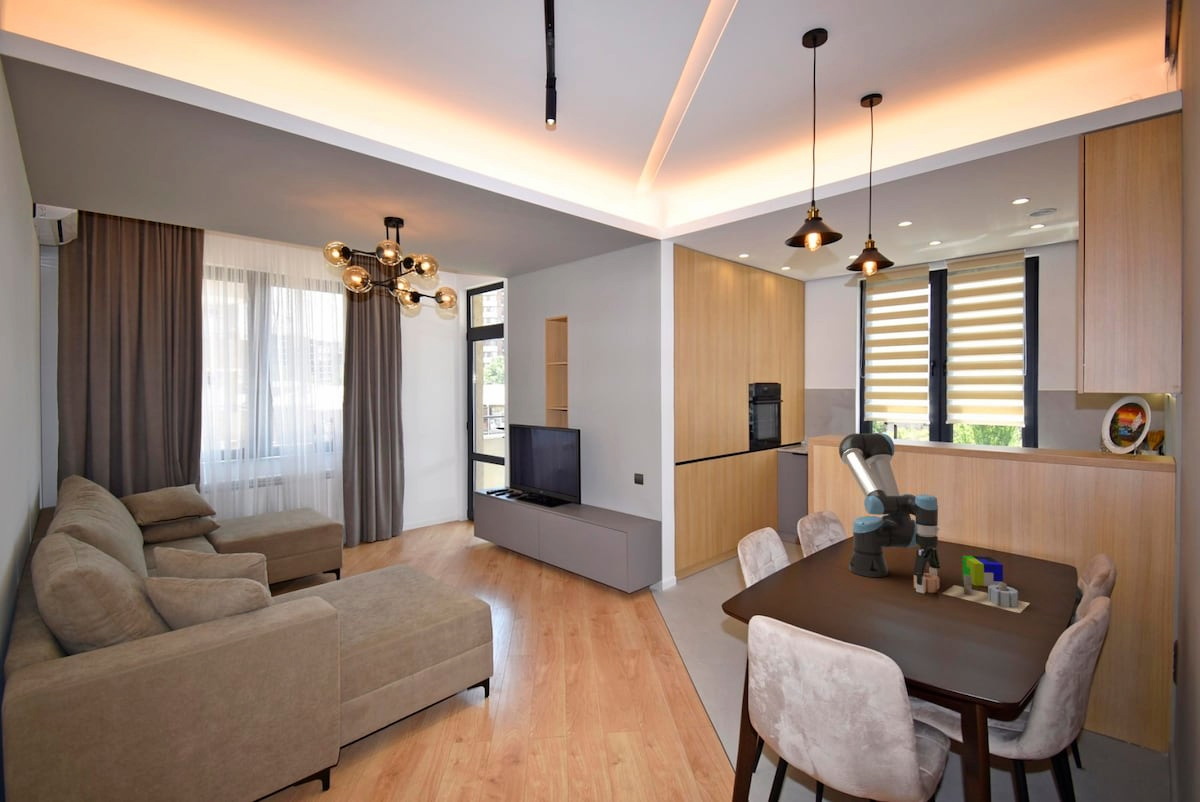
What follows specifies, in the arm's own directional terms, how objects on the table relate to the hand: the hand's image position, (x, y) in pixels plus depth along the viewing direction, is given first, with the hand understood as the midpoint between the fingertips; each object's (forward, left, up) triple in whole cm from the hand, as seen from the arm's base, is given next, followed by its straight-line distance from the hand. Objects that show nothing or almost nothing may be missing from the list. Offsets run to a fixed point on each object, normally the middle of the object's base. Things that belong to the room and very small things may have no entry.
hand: (926, 588), depth 213 cm
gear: (+24, +2, +1) cm, 24 cm away
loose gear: (0, 0, 0) cm, 0 cm away
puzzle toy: (+13, +21, -1) cm, 25 cm away
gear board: (+19, +2, 0) cm, 19 cm away
